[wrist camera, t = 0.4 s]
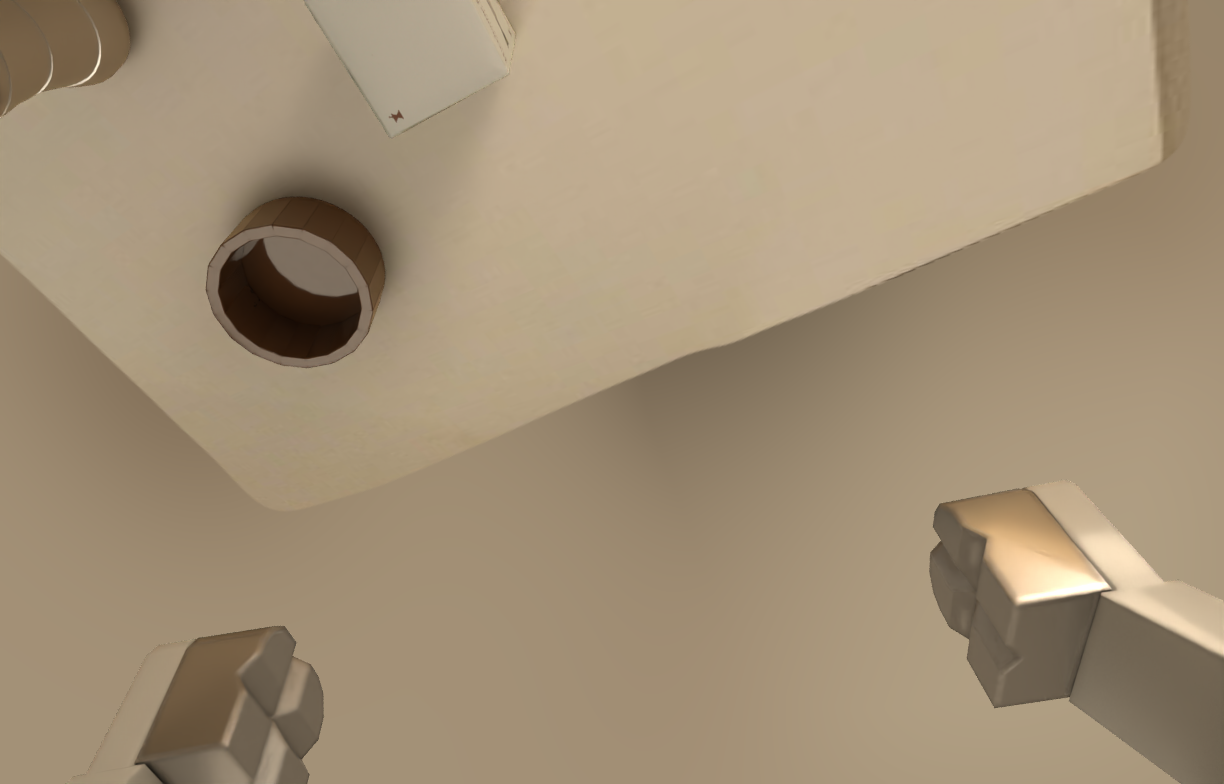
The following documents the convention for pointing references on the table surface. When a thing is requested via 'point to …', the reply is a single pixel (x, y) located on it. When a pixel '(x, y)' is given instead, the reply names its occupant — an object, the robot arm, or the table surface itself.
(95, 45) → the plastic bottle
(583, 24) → the table surface
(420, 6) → the white packaging box
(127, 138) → the table surface
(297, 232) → the cup
